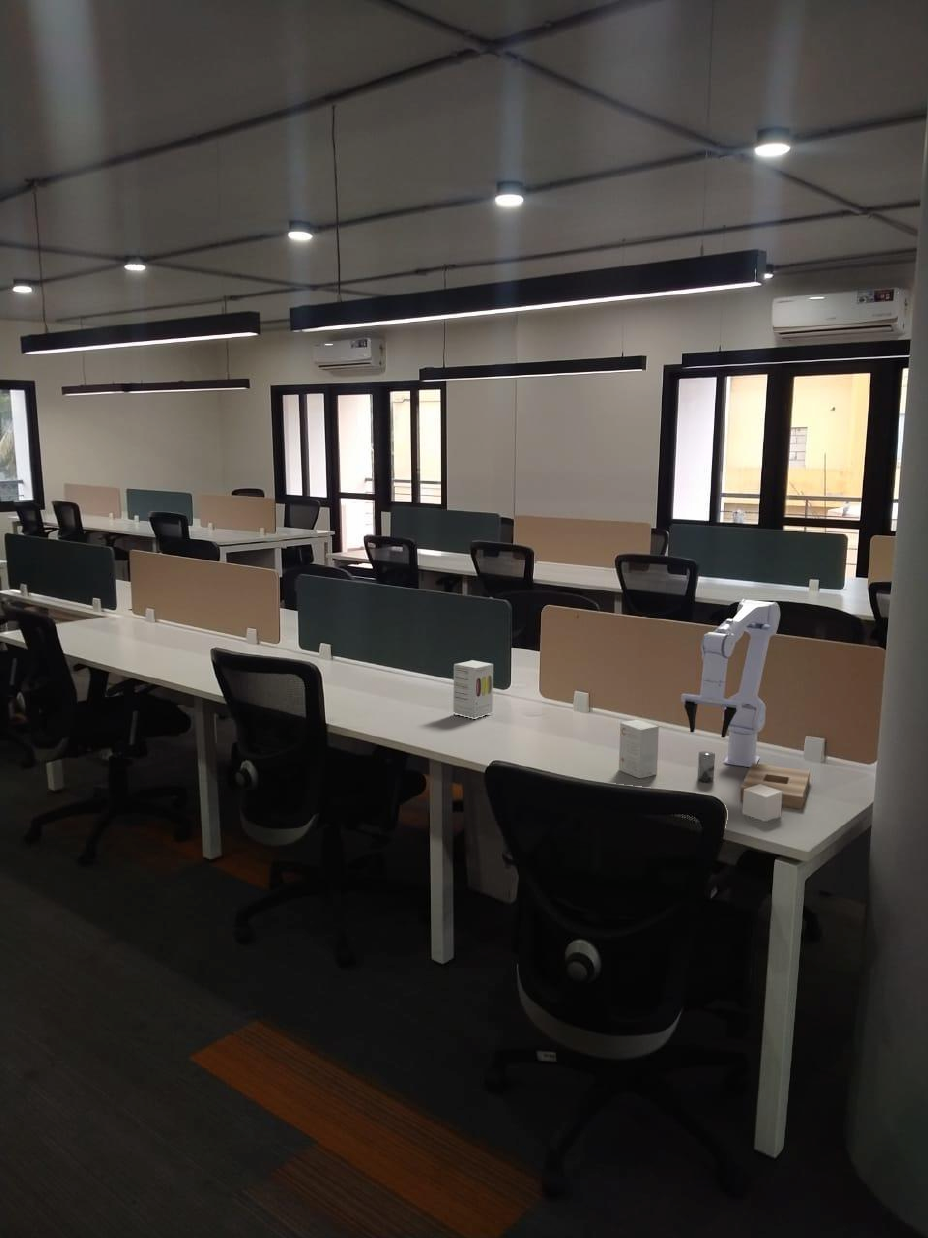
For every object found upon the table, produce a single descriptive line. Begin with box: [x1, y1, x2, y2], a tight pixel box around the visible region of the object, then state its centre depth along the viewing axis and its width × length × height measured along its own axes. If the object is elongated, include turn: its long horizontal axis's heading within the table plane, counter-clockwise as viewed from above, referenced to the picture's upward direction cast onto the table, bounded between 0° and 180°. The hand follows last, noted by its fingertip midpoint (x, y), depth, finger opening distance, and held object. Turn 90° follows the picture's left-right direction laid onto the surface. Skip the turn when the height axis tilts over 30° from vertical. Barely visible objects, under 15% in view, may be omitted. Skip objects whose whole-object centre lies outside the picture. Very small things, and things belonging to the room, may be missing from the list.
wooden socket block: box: [739, 763, 811, 810], centre depth 219 cm, size 20×14×3 cm
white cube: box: [742, 784, 782, 822], centre depth 203 cm, size 6×6×6 cm
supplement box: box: [452, 659, 494, 718], centre depth 284 cm, size 10×9×17 cm
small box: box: [618, 719, 660, 779], centre depth 231 cm, size 8×6×13 cm
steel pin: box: [696, 751, 716, 784], centre depth 226 cm, size 4×4×7 cm
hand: (707, 734), depth 222 cm, fingers open, 7 cm apart
